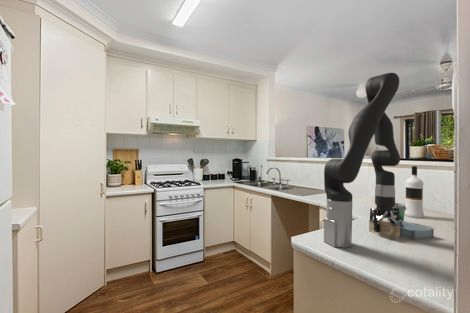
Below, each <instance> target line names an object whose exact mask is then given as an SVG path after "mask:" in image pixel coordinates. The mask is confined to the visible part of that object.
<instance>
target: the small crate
mask: <svg viewBox="0 0 470 313" xmlns="http://www.w3.org/2000/svg"><path fill="white" fill-rule="evenodd" d="M377 221H378V219H377ZM386 221H387V220H381V222H380V232H375V231H374V223H373V222H371V221H370V219H369V220H368V222H369V223H368V232H371V233H372V234H374V235H378V236H380V237H383V238H386V239H388V240H391V239H401V235H400V228H401V226H399V225H396V224H392V223H389V222H386Z"/></svg>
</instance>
